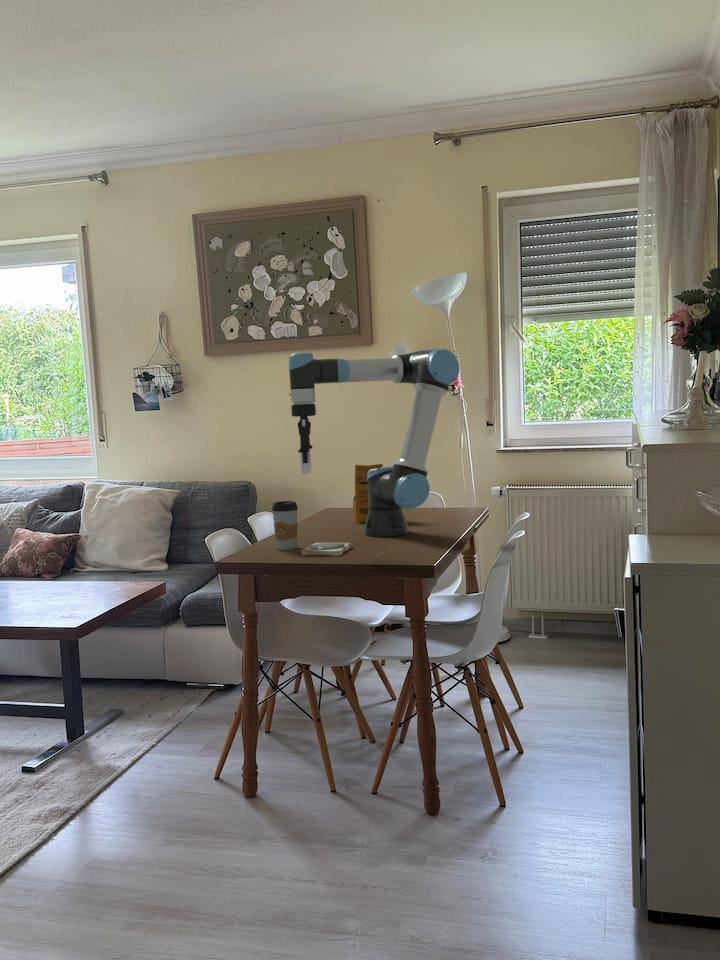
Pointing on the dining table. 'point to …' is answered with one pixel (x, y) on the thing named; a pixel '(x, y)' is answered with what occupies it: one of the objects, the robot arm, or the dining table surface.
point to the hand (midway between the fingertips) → (306, 471)
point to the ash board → (326, 549)
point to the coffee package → (362, 492)
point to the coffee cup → (285, 524)
